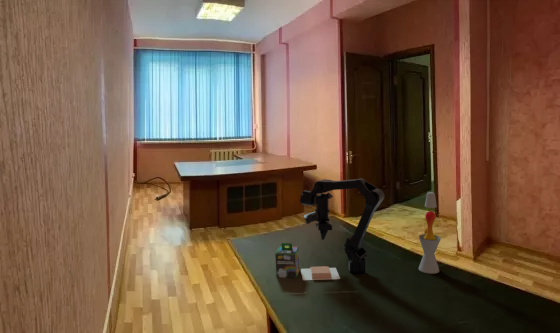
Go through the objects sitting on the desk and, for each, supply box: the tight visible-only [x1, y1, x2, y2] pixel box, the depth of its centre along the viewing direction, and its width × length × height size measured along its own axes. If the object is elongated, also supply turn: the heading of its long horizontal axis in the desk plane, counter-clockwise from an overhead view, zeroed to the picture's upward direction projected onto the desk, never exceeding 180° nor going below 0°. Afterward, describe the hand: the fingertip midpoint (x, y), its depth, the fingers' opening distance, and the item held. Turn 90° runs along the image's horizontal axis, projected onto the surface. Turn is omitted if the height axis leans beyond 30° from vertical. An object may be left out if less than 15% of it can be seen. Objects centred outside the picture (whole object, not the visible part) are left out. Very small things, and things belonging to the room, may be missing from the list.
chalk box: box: [274, 242, 301, 279], centre depth 167 cm, size 9×9×15 cm
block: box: [309, 265, 331, 279], centre depth 165 cm, size 8×3×7 cm
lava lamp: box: [418, 191, 441, 275], centre depth 167 cm, size 9×9×35 cm
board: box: [300, 267, 341, 281], centre depth 167 cm, size 16×12×1 cm
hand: (322, 239), depth 176 cm, fingers closed
